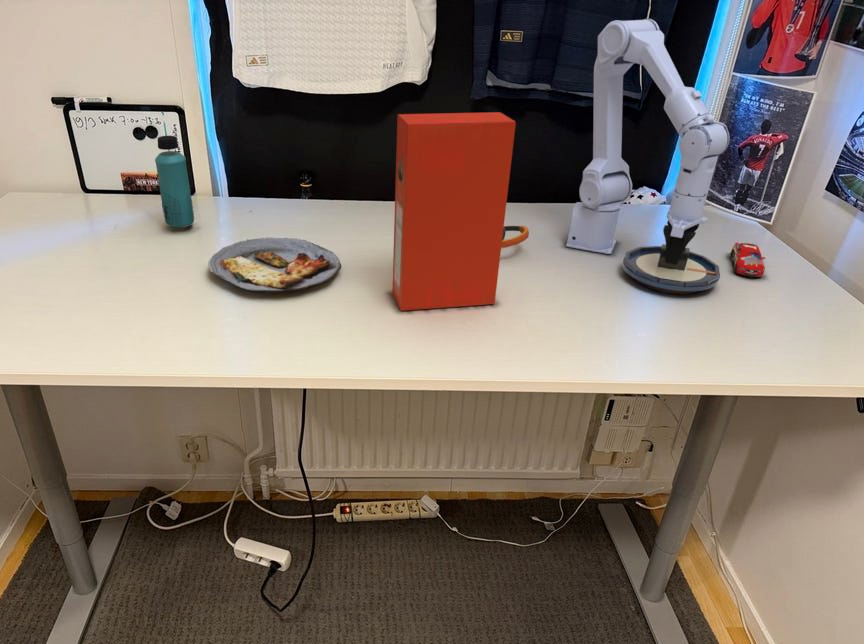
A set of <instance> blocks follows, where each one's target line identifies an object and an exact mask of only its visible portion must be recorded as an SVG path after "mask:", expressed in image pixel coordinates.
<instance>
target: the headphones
mask: <svg viewBox="0 0 864 644" xmlns="http://www.w3.org/2000/svg"><path fill="white" fill-rule="evenodd" d="M506 232H519V233H520V234H519V235H516V236H514V237H512V238H507V239H505V237H506ZM529 236H530V230H529V228H528V227H527V226H525V225H504V228H503V237H502V245H501V249H505V248H509V247H513V246H517V245H519V244H521V243H523V242H525V241H526V240H527V239H528V238H529Z"/></svg>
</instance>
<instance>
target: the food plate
mask: <svg viewBox="0 0 864 644" xmlns="http://www.w3.org/2000/svg"><path fill="white" fill-rule="evenodd" d="M208 267H209V271H210V272H211V273H213V274H215V275H216V276H218V277H219V278H221V279H223V280H224V281H227V282H229V283H231V284H232V285H234V286H235V287H236V286H237V287H238V288H241V289H242V290H247V291H250V292H254V293H287V292H297V291H301V290H303V289H308V288H310V287H314V286H318V285H319V284H324V283H327V282H328V281H330V280H331V279H333V278H334V277H335V276H336V275H337V273H339V271H340V270H341V268H342V264H341V259H340V258H339V257H338V256H337V254H336V253H335V252H334V251H332V250H328V249H327V248H325V247H323V246H320V245H318V244H316V243H314V242H310V241H308V240H306V239H301V238H297V237H296V238H295V237H259V238H251V239H249V238H248V239H246V240H240V241H238V242H235V243H232V244H230V245H226V246H223V247H222V248H221V249H220V250H218V251H217V252H215V253H213V254H212V255H211V257H210V258H209V260H208Z"/></svg>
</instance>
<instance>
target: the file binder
mask: <svg viewBox="0 0 864 644" xmlns="http://www.w3.org/2000/svg"><path fill="white" fill-rule="evenodd" d="M396 123H397V124H396V125H397V126H396V153H395V154H396V155H395V157H396V158H395V187H394V188H395V190H394V192H395V193H394V219H393V221H394V224H393V225H394V226H393V257H392V287H391V288H392V290H391V291H392V295H393V297H394V299H395V302H396V303H397V306H398V308H399V310H400V311H401V312H402V311H415V310H416V311H417V310H428V309H443V308H444V309H445V308H455V307H472V306H482V305H483V306H484V305H495V304H496V295H497V287H498V279H499V278H498V277H499V270H500V262H501V261H500V260H501V255H502V254H501V252H502V247H501V245H502V237H503V228H504V226H505V221H506V220H505V219H506V212H507V211H506V210H507V203H508V202H507V201H508V193H509V184H510V177H511V176H510V175H511V169H512V167H511V166H512V158H513V151H514V141H515V133H516V127H517V126H516V125H517V122H516V121H515V120H514V119H512V118H511V117H509V116H507V115H505V113H502V112H500V111H497V112H495V111H494V112H493V111H490V112H454V113H453V112H451V113H449V112H447V113H446V112H444V113H403V114H401V113H398V114H397V121H396Z"/></svg>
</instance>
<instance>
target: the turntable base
mask: <svg viewBox="0 0 864 644" xmlns="http://www.w3.org/2000/svg"><path fill="white" fill-rule="evenodd" d="M635 281H636V282H638V283H639V284H640V285H642V286H643V287H646V288H648V289H650V290H654V291H657V292H660V293H666V294H673V295H688V294H693V293H697V292H698V291H676V290H669V289H663V288H659V287H655V286H652V285H649V284H646V283H643V282H641V281H639V280H637V279H635Z"/></svg>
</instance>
